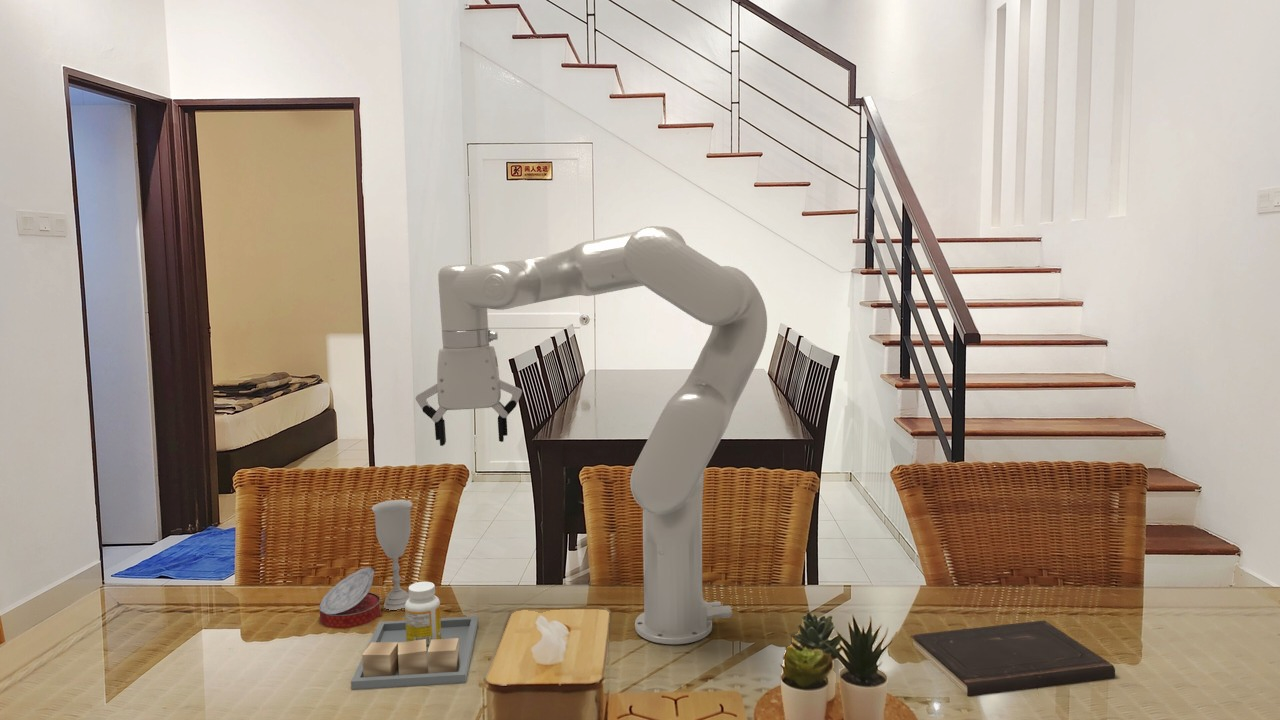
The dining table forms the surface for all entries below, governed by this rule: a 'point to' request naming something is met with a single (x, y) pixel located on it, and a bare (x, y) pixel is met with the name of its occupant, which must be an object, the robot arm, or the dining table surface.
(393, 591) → the chalice
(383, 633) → the tray
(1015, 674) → the hardcover book
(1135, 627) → the dining table surface
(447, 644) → the block
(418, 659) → the block
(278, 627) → the dining table surface
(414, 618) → the supplement bottle
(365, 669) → the block
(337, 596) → the canned food
